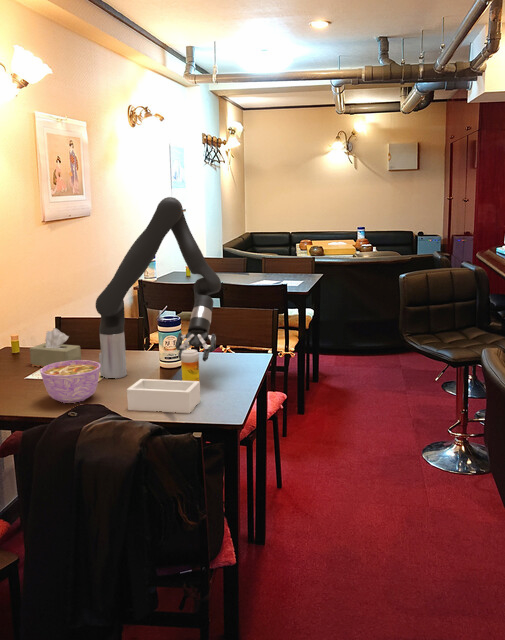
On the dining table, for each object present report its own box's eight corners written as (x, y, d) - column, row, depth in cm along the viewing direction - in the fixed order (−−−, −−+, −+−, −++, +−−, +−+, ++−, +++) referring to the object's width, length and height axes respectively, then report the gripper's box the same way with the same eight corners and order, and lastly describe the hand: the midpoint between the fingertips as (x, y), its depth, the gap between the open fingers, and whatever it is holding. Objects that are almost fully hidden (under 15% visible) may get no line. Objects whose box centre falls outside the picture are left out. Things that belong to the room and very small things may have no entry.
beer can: (197, 395, 221) (195, 353, 219) (180, 394, 223) (178, 353, 220) (202, 390, 227) (200, 349, 224) (185, 389, 229) (183, 348, 226)
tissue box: (82, 364, 266) (79, 327, 263) (67, 370, 257) (64, 332, 254) (45, 361, 273) (42, 324, 270) (30, 366, 264) (26, 329, 261)
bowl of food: (100, 388, 232) (97, 357, 230) (106, 405, 213) (103, 371, 211) (42, 395, 226) (39, 363, 223) (43, 412, 207) (40, 378, 205)
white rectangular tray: (128, 410, 208) (126, 389, 207) (141, 398, 219) (140, 378, 218) (189, 413, 204) (188, 392, 202) (200, 401, 215) (199, 381, 214)
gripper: (179, 315, 232) (170, 354, 224) (217, 316, 229) (209, 355, 221) (184, 326, 238) (176, 364, 230) (221, 327, 236) (214, 365, 227)
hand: (192, 359), depth 225 cm, fingers open, 8 cm apart
